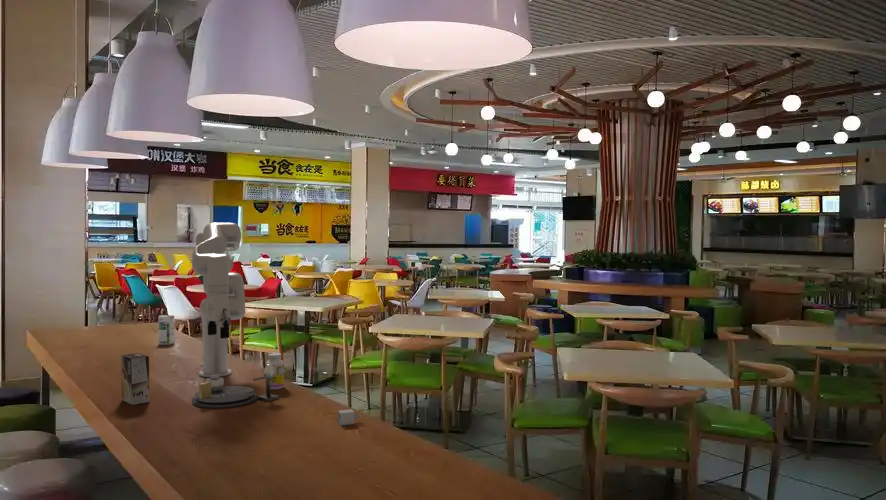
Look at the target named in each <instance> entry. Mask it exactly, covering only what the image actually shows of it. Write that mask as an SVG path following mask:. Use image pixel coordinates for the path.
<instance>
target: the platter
mask: <svg viewBox="0 0 886 500" xmlns="http://www.w3.org/2000/svg"><path fill="white" fill-rule="evenodd" d="M255 391H256V390H255V389H254V388H252V387H248V386H243V385H241V386H240V385H226V386H225V385H224V390H223V391H220V392H211V382H206V381H205V382H202V383H199V390H198V391H197V392H196V393H195V394H194V397H195V400H196V401H198V402H201V403H208V404H226V403H235V402H240V401H244V400H248V399H250V398H252V397H254V395H255V393H256V392H255Z"/></svg>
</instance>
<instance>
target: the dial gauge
mask: <svg viewBox="0 0 886 500" xmlns="http://www.w3.org/2000/svg"><path fill="white" fill-rule="evenodd" d="M276 372H277V369H276V366H275V365H273V364H268V365H266V364H265V367H263V376H259V377H256V378H252V381H260V380H264V379H265V392H266V394H263V395H260V396H259V395H258V399H257V400H260V401H264V402H266V403H268V402H271V401H276V400H279V399H280V398H279V397H280V396H279V395H278V394H277V395H276V394H272V393H271V389H270V379H271V378H273V377H274V376H275V375H276Z"/></svg>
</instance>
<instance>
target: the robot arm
mask: <svg viewBox="0 0 886 500" xmlns="http://www.w3.org/2000/svg"><path fill="white" fill-rule="evenodd" d="M241 241H242V231H241V227H240V226H239V225H238V224H237V223H235V222H210V223H208V224H206V225H205V226H204V228H203V230H202V231H200V232H199V233H197V235H196V236H195V247H194V249H193V251H192V255H191V263H192V264H191V265H192V269H193V272H194V273H195V274H197V275H202V278H203V279H202V280H203V281H202V283H203V292H204V293H205V294H206V298H204V299H202V300H201V302H200V304H199V311H200V317H201V324H202V363H200V364H199V367H200V368H201V369H202V370H200V371H199V373H198V376H200V377H203V378H210V375H212V374H219V377H221V378H222V377H224V376H229V375H232V372H233V371H232V369H230V368H229V367H228V366H229V365H228V362H229V359H228V358H229V357H228V338H230V326H231V321H233V320H241V319H243V318H245V316H246V300H245V299H246V297H245V296H246V295H245V284H244V283H245V282H244V278H243V276H242V274H241V273H238V272H231V271H232V270H233V267H234V260H233V258H232V256H231V255H229V254H227V253H225V252H235V251H238V249H239V248H240V245H241Z"/></svg>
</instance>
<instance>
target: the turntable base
mask: <svg viewBox="0 0 886 500" xmlns="http://www.w3.org/2000/svg"><path fill="white" fill-rule="evenodd" d="M258 396H259V395H258V394H257V393H256V392H255V395H254V397H252V398H250V399H248V400H244V401H240V402H235V403H226V404H208V403H201V402H198V401H196V400H195V396H194V397H192V399H191V404H192V405H193V406H195V407H197V408H202V409H230V408H237V407H238V408H239V407H243V406H247V405H249V404H252V403H255V402H256V401H257V400H259V399H258Z"/></svg>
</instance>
